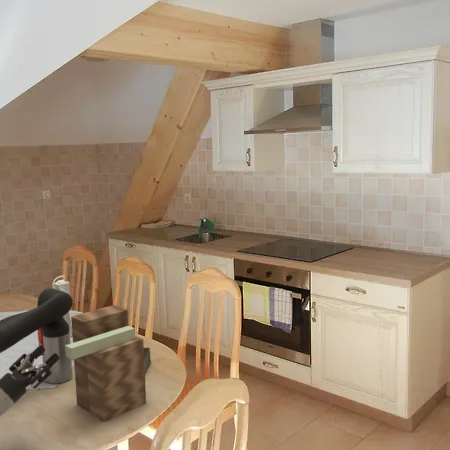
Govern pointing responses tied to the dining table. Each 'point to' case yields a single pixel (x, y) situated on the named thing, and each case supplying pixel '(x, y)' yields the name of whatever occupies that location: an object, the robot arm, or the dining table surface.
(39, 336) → the soda can
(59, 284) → the white water bottle
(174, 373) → the dining table surface
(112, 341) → the sage bar
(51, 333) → the robot arm
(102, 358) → the display stand
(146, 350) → the beverage carton
